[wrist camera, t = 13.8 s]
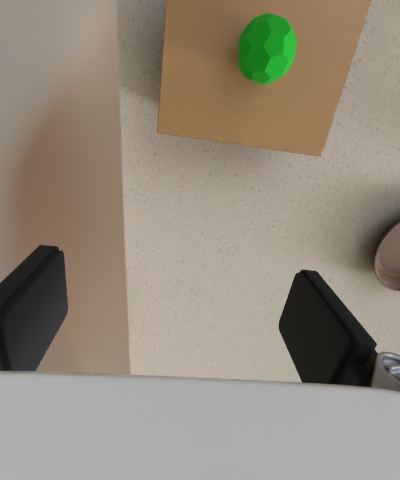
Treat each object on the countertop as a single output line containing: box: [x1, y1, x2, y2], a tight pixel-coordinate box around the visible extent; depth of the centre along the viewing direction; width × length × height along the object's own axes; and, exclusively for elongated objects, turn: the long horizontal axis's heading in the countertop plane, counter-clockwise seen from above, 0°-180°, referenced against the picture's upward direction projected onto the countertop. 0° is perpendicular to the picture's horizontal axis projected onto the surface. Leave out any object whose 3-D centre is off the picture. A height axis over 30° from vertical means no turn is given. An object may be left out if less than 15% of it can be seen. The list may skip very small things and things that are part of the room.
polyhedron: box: [239, 13, 297, 85], centre depth 23 cm, size 5×5×5 cm
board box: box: [157, 0, 371, 157], centre depth 29 cm, size 18×16×7 cm
